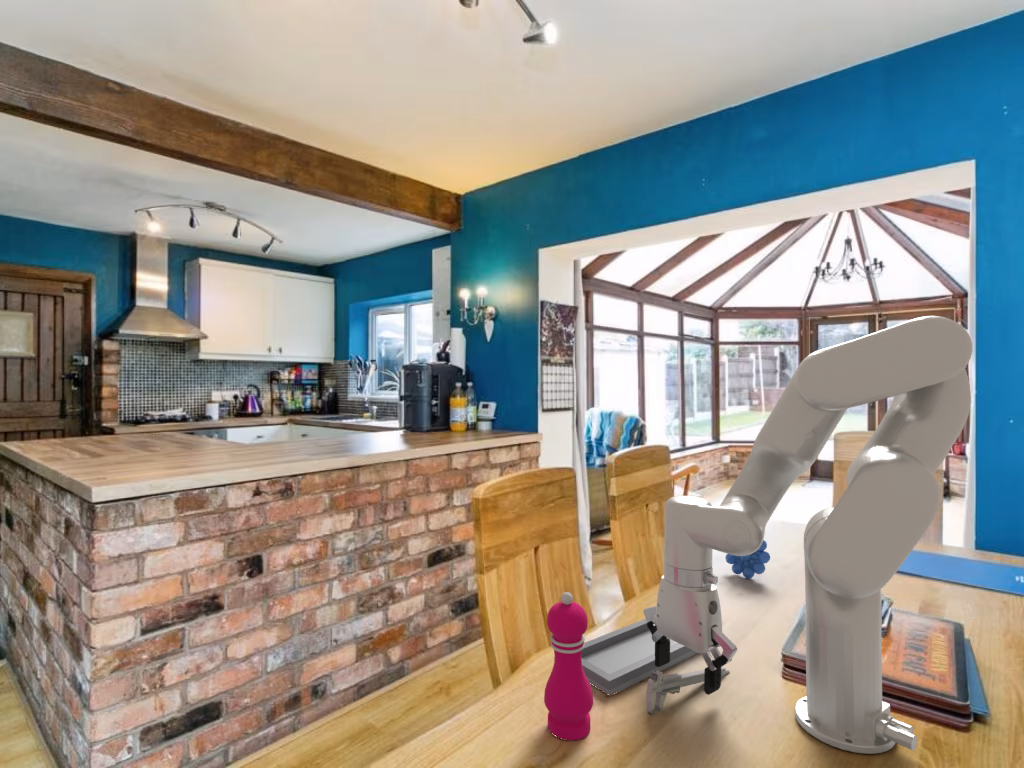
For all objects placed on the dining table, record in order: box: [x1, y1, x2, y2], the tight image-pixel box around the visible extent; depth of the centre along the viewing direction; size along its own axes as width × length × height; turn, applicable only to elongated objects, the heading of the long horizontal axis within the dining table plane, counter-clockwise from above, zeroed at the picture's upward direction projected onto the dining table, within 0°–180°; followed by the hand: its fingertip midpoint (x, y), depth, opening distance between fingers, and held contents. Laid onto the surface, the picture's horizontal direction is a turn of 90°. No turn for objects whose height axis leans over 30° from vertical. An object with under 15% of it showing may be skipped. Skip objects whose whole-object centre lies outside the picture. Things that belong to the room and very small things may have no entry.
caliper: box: [645, 666, 731, 715], centre depth 91 cm, size 20×1×6 cm, turn 126°
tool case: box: [581, 615, 709, 697], centre depth 102 cm, size 12×27×2 cm, turn 126°
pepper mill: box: [543, 591, 594, 741], centre depth 82 cm, size 7×7×20 cm
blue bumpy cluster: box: [725, 539, 771, 579], centre depth 141 cm, size 12×7×12 cm, turn 39°
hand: (686, 677), depth 91 cm, fingers open, 9 cm apart
